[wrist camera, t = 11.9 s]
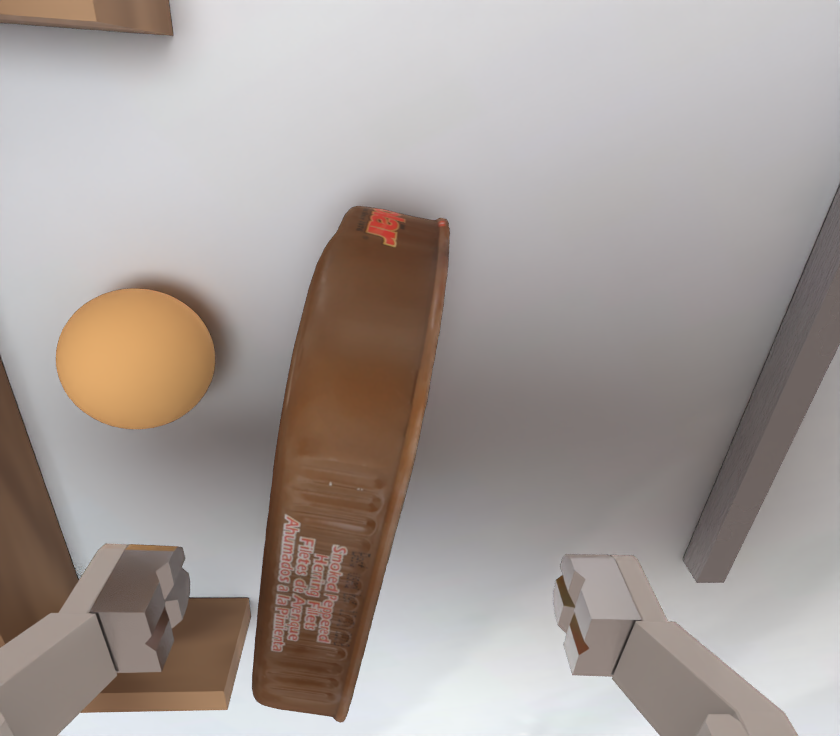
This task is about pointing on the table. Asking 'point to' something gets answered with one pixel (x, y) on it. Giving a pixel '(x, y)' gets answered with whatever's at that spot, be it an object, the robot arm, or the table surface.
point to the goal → (32, 510)
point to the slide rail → (773, 409)
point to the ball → (135, 358)
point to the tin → (346, 453)
